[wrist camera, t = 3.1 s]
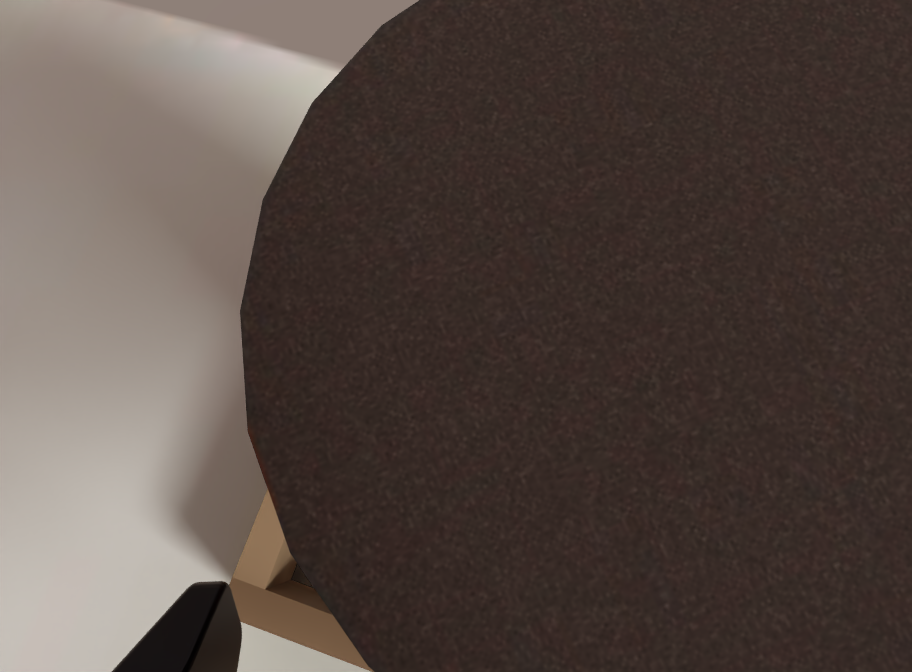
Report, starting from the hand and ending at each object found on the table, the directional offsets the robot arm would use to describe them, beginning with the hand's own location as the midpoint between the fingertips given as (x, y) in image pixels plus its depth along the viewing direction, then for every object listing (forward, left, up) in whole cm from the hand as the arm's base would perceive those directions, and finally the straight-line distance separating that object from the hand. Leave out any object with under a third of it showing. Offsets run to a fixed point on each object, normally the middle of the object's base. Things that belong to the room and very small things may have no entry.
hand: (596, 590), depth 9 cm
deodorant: (+1, +2, -10) cm, 11 cm away
